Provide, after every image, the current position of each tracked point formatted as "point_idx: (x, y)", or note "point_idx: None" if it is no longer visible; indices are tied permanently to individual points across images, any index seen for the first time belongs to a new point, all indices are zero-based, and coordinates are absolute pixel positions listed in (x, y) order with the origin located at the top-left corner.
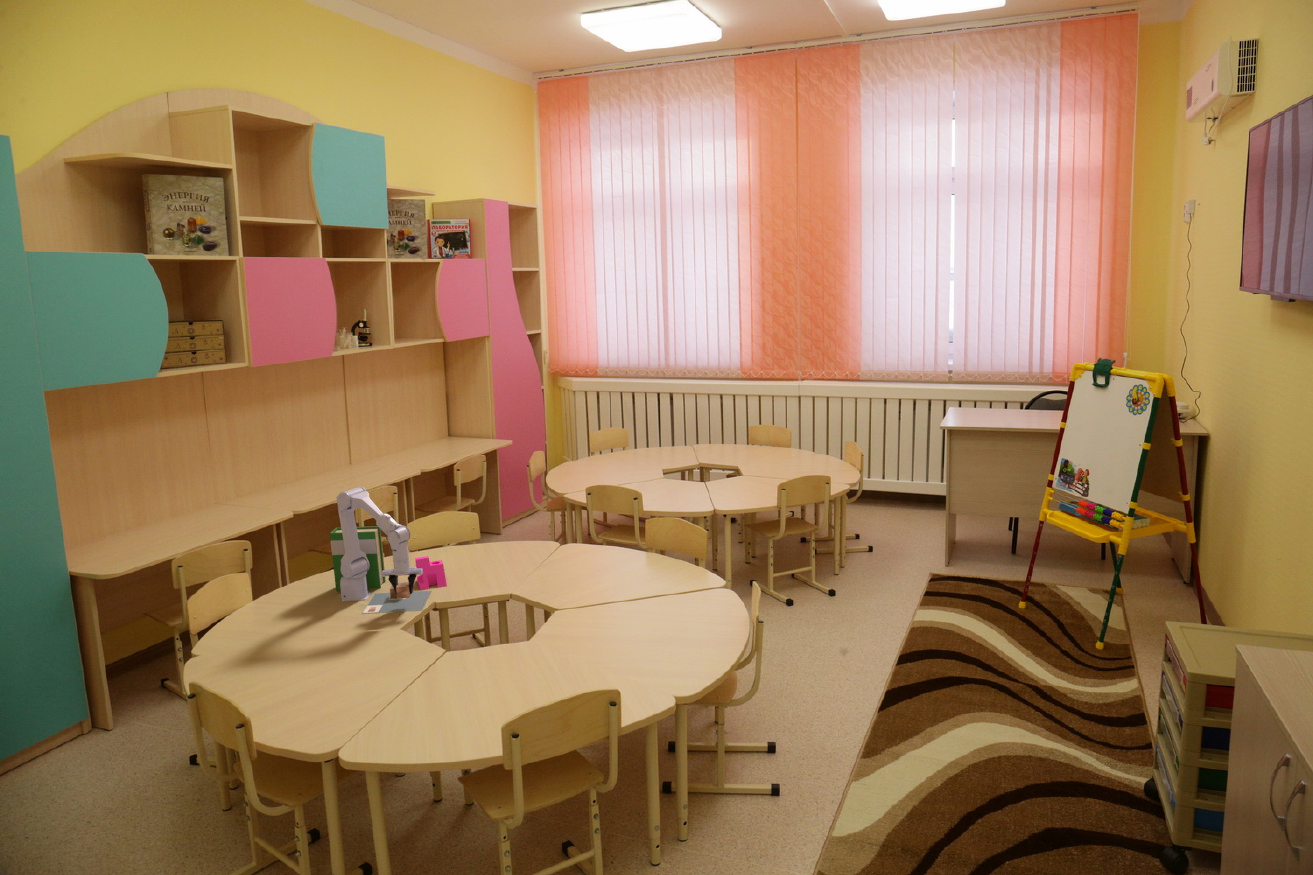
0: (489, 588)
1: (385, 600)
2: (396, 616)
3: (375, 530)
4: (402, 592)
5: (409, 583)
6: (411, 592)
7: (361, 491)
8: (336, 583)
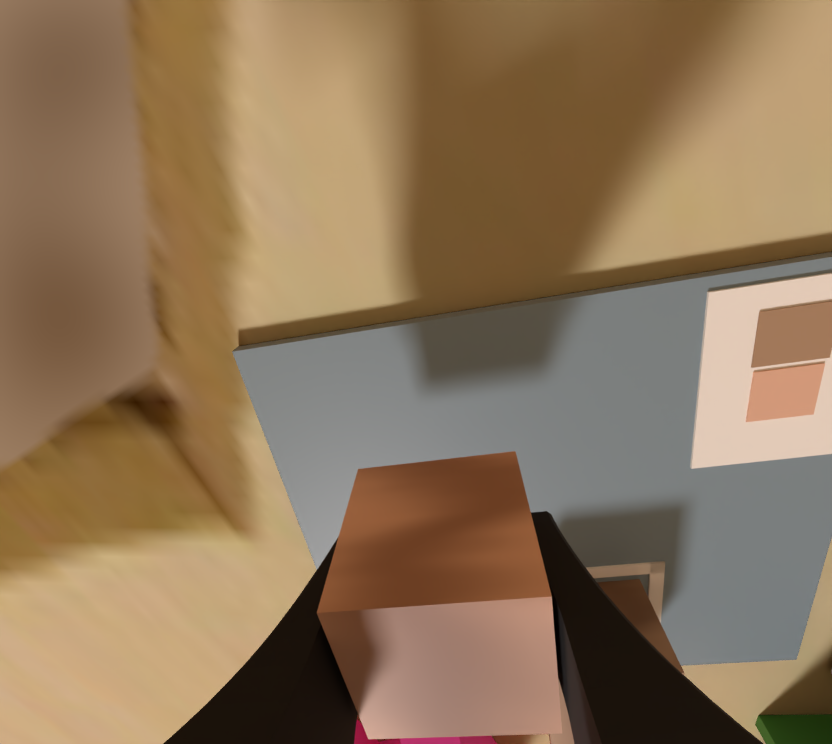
0: (19, 693)
1: (680, 552)
2: (457, 215)
3: None
4: (436, 517)
5: (284, 681)
6: (333, 544)
7: None
8: None
